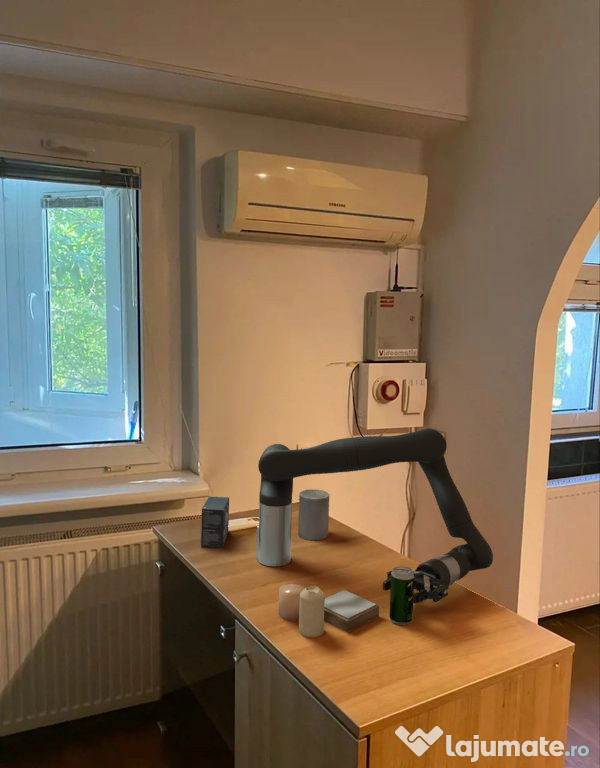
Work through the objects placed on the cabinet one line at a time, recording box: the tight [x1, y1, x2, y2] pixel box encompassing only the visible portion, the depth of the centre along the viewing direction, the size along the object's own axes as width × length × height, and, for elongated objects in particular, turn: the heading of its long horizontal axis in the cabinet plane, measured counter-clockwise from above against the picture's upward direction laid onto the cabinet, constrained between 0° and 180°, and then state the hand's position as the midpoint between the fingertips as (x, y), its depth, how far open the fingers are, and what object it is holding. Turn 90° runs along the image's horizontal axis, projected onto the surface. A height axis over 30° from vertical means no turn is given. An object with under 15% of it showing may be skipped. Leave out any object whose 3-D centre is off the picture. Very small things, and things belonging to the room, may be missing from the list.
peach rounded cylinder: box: [278, 583, 305, 621], centre depth 143 cm, size 6×6×6 cm
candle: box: [298, 585, 326, 638], centre depth 135 cm, size 6×6×10 cm
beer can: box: [388, 565, 415, 626], centre depth 141 cm, size 5×5×12 cm
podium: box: [324, 589, 380, 633], centre depth 143 cm, size 11×11×3 cm
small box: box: [200, 496, 230, 548], centre depth 189 cm, size 13×7×12 cm, turn 179°
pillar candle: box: [297, 488, 331, 541], centre depth 195 cm, size 10×10×15 cm
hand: (398, 592), depth 140 cm, fingers open, 8 cm apart
